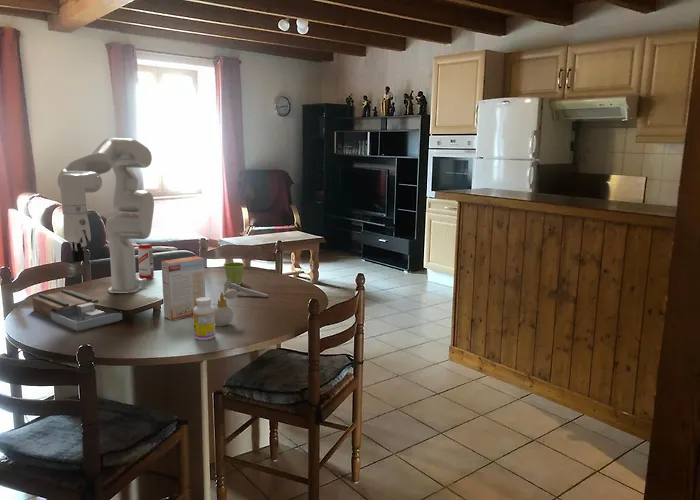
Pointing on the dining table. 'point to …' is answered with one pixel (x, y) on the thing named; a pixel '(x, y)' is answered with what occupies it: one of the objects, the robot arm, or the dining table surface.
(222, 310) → the perfume bottle
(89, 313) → the chip
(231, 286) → the caliper
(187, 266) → the cracker box
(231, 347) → the dining table surface
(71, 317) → the tray
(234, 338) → the dining table surface
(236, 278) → the plant pot
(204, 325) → the supplement bottle
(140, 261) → the beer can
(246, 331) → the dining table surface
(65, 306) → the slot board
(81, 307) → the chip
